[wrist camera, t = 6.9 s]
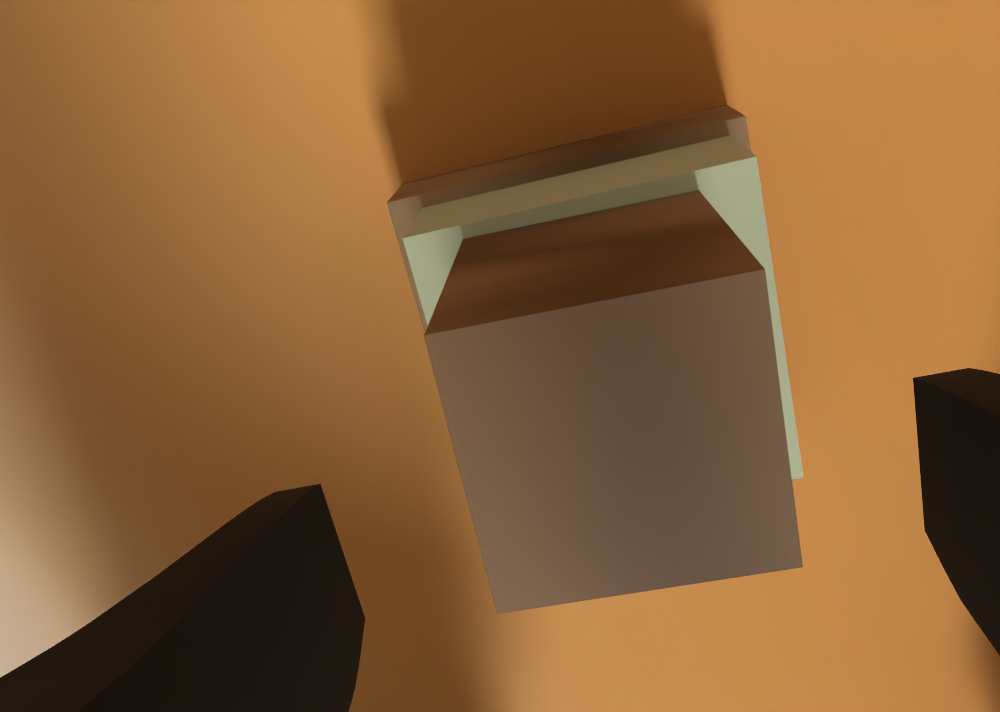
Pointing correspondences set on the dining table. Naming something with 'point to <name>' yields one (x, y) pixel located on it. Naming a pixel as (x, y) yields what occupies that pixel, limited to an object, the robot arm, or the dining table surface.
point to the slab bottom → (559, 165)
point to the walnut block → (615, 404)
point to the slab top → (701, 166)
